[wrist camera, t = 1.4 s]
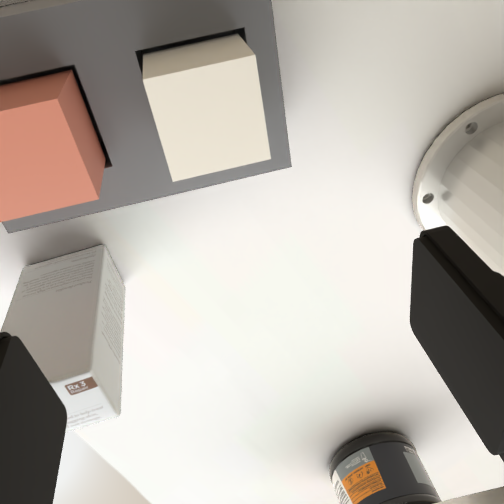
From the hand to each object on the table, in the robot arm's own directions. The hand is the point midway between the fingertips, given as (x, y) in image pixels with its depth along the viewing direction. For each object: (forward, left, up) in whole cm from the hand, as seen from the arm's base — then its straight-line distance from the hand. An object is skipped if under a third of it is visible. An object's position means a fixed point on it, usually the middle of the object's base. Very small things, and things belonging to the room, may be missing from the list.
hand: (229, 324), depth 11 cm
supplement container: (-11, +46, -21) cm, 52 cm away
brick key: (+7, -1, -16) cm, 17 cm away
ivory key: (-1, -1, -16) cm, 16 cm away
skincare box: (+10, +11, -21) cm, 26 cm away
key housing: (+3, -1, -21) cm, 21 cm away
